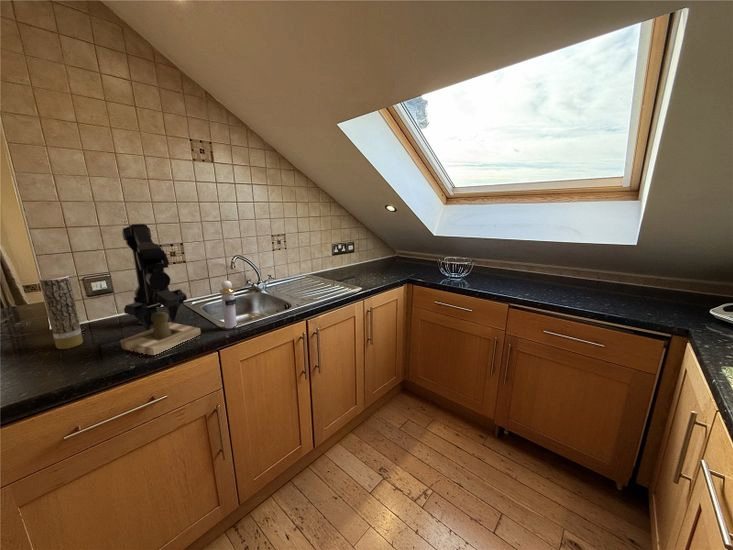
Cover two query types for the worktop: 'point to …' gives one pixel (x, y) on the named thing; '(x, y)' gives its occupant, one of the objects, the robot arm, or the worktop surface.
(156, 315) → the cork
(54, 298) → the grey bark cylinder
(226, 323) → the perfume bottle
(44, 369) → the worktop surface
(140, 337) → the socket board
